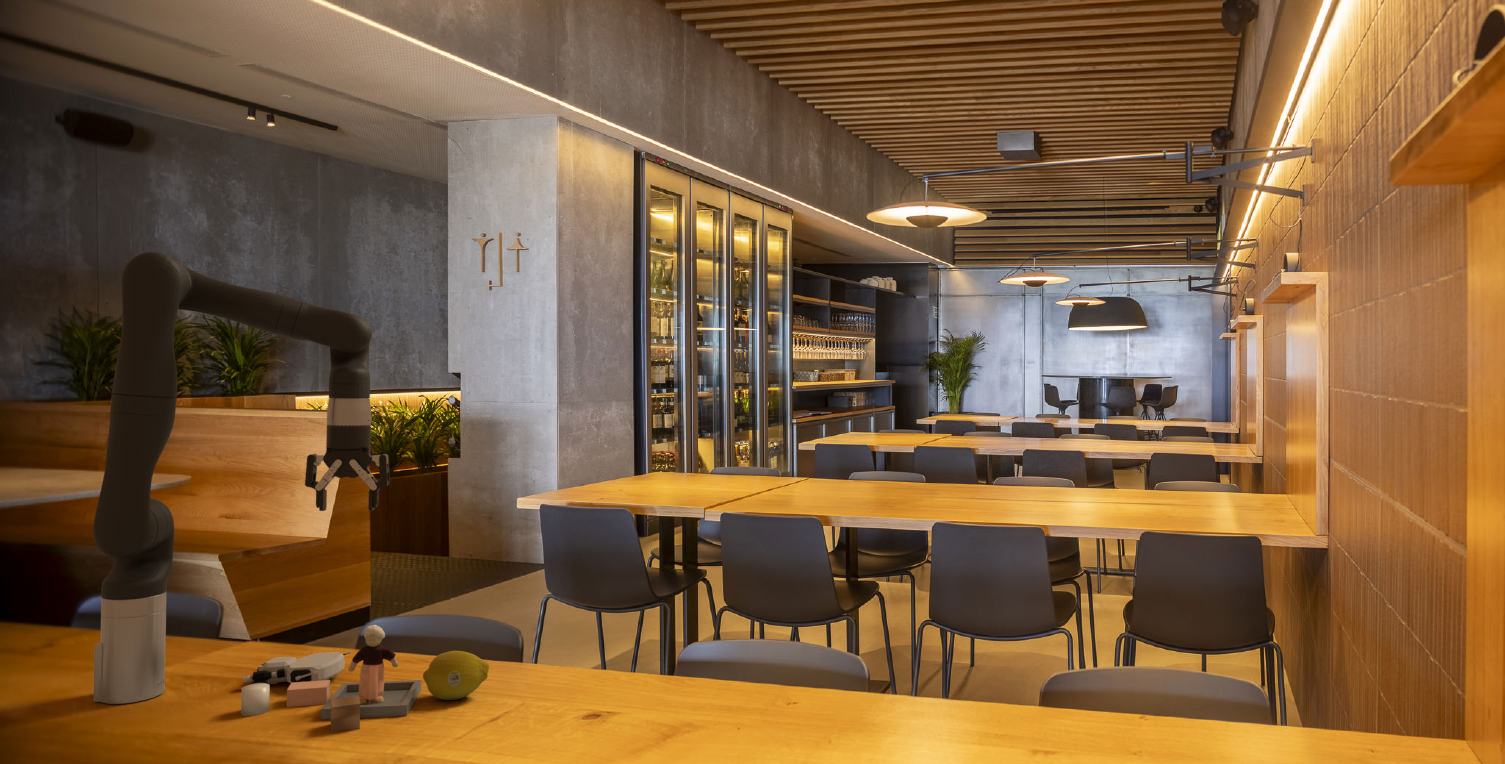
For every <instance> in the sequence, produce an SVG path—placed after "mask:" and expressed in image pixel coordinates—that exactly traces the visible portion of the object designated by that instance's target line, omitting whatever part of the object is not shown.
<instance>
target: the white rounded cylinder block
mask: <svg viewBox="0 0 1505 764" xmlns="http://www.w3.org/2000/svg"><path fill="white" fill-rule="evenodd" d="M270 685H271V684H269V683H265V682H260V683H252V684H247V685H245V686H243V687H241V696H240V697H241V699H240V700H241V701H240V702H241V703H240V705H241V706H240V714H241V716H244V717H255V716H261V715H263V714H267V713H268V712H269V711H270V688H271V687H270Z"/></svg>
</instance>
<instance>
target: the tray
mask: <svg viewBox="0 0 1505 764" xmlns="http://www.w3.org/2000/svg"><path fill="white" fill-rule="evenodd" d="M422 682H423V681H422V680H421V679H414V680H413V679H412V680H411V679H410V680H409V679H408V680H388V681H385V680H384V691H383V695H381V696H382V697H383V699H384V701H383V702H381V703H372V702H371V700H372V699H370V700H368V702H367V703H365V704H360V719H366V718H368V719H369V718H386V717H387V718H388V717H389V718H390V717H406V716H408V715H409V713H410V710H411V709H412V707H414V704H415V702H416V700H417V698H418V697H417V696H419V695H420V693H421V691H422ZM353 696H359V682H344V683H342V684H341V685H340V686H339V687H338V688H337V690H336V691H335V692H334V693H333V694H332V696H330V697H329V699H328V701H327V703H326V704H323V706H322V707H321V709H320V720H321V721H322V720H323V721H327V720H328V721H329V720H331V699H337V698H345V697H353Z"/></svg>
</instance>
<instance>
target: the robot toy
mask: <svg viewBox="0 0 1505 764" xmlns="http://www.w3.org/2000/svg"><path fill="white" fill-rule="evenodd" d="M352 653H353V651H351V650H350V651H347V652H345V653H341V652H340V651H329V652H317V653H311V654H309V655H305V656H303V657H301V658H299V659H298V658H296V657H295V656H279V657H274V658H271V659H269V660H267V661H265V662H263V664H258V667H257V669H256V671H253V673H252V674H248V675H245V676H243V677H242V682H244V683H248V682H251V681H252V684H257V683H265V682H266V683H267V684H269V685H277V684H278V683H283V682H287V683H290V684H291V683H294V682H308V681H322V680H330V679H331V678H333V677H335V676H337V675H338V674H339V673H341V672H342V671H343V669H344V668H345V665H346V664H345V656H346V655H350V654H352Z"/></svg>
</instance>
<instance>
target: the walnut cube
mask: <svg viewBox="0 0 1505 764" xmlns="http://www.w3.org/2000/svg"><path fill="white" fill-rule="evenodd" d="M360 729H361V718H360V699H359V696H353V697H345V698H337V699H331V719H330V732H331V734H333V733H340V732H348V731H356V730H360Z"/></svg>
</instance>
